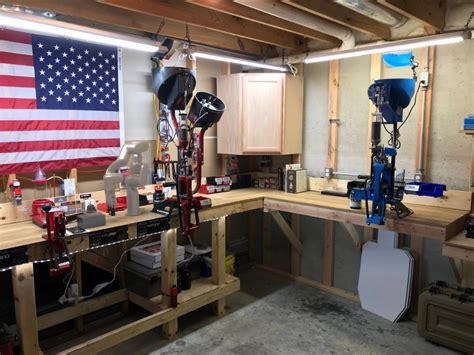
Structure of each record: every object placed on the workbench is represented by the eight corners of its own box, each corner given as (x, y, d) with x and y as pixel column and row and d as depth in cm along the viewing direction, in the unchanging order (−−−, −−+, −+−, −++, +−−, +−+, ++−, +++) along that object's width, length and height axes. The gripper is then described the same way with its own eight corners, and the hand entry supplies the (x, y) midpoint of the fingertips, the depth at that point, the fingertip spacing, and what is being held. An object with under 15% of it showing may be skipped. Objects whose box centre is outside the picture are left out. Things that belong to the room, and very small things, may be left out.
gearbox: (99, 222, 283) (98, 209, 282) (106, 225, 274) (105, 211, 273) (77, 226, 272) (76, 212, 271) (83, 229, 264) (82, 215, 262)
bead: (113, 214, 288) (113, 209, 287) (115, 215, 285) (115, 210, 284) (108, 215, 285) (107, 210, 284) (110, 216, 282) (110, 211, 281)
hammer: (58, 230, 275) (98, 218, 295) (55, 216, 272) (95, 204, 292) (56, 229, 278) (95, 217, 298) (52, 215, 276) (92, 203, 296)
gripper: (119, 192, 278) (121, 216, 281) (110, 189, 290) (112, 212, 293) (109, 193, 273) (112, 218, 276) (100, 190, 285) (102, 214, 288)
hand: (112, 215), depth 285 cm, fingers closed on bead, 3 cm apart
